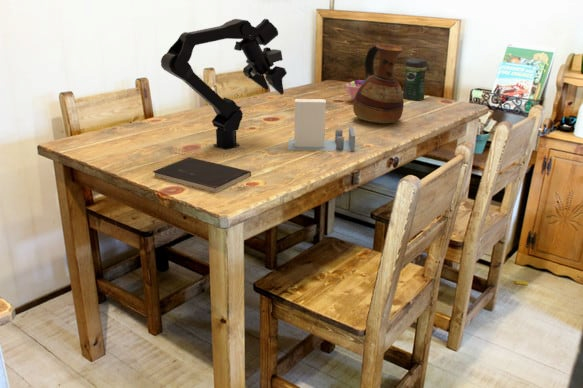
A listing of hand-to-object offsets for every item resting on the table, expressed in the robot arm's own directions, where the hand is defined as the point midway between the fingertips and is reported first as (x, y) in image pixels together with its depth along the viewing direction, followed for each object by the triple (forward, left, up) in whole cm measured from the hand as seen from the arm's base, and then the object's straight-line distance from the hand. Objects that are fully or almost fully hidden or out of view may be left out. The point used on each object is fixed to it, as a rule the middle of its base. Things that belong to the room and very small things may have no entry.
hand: (274, 91), depth 190 cm
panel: (-3, -17, -15) cm, 23 cm away
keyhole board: (-1, -20, -16) cm, 26 cm away
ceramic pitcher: (+44, -17, -17) cm, 50 cm away
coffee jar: (+92, -10, -17) cm, 94 cm away
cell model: (+72, +4, -17) cm, 74 cm away
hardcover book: (-45, -9, -17) cm, 49 cm away
